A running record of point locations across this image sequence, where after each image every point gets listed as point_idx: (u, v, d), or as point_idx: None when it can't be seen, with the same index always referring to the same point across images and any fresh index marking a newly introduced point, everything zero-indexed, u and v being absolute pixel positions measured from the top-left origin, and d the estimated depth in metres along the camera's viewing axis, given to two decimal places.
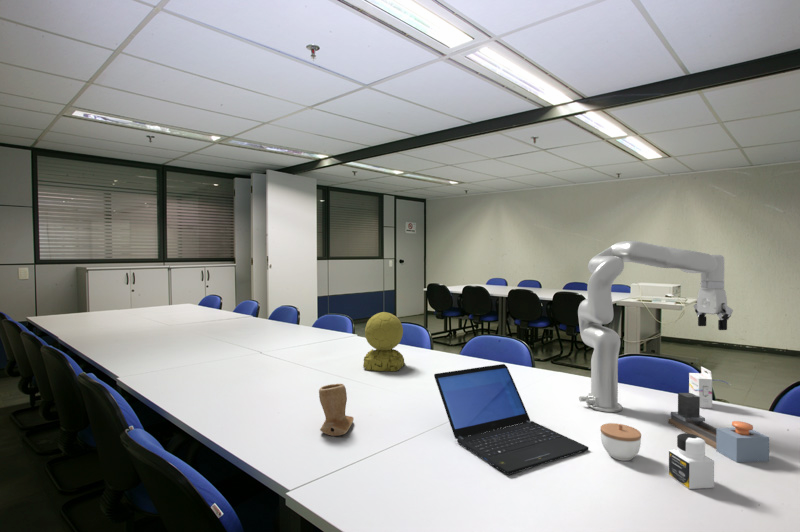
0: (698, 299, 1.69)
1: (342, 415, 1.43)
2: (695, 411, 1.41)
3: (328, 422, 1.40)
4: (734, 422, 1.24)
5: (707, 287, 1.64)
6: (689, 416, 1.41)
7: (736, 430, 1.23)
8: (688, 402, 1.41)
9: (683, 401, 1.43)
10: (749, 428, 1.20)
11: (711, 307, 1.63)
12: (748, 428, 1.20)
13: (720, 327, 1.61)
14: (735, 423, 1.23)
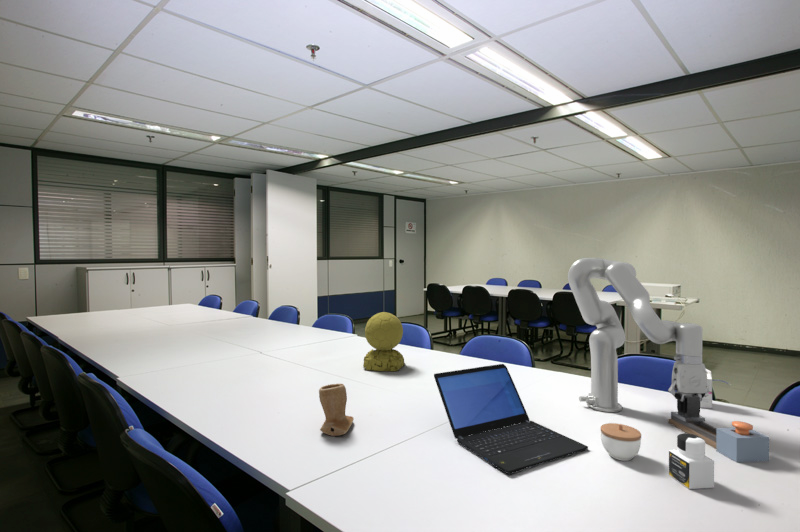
0: (683, 378, 1.41)
1: (342, 415, 1.43)
2: (695, 411, 1.41)
3: (328, 422, 1.40)
4: (734, 422, 1.24)
5: (700, 363, 1.40)
6: (689, 416, 1.41)
7: (736, 430, 1.23)
8: (688, 402, 1.41)
9: None
10: (749, 428, 1.20)
11: (702, 385, 1.41)
12: (748, 428, 1.20)
13: None
14: (735, 423, 1.23)
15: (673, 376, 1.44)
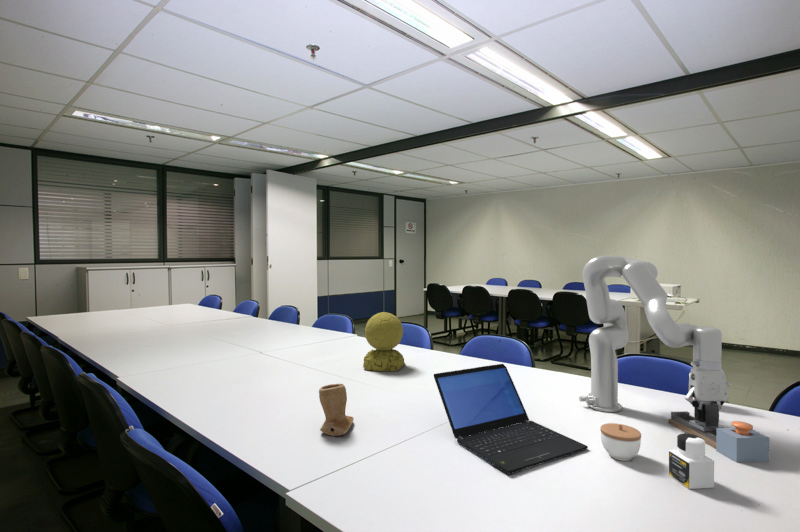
0: (702, 385, 1.33)
1: (342, 415, 1.43)
2: (714, 419, 1.34)
3: (328, 422, 1.40)
4: (734, 422, 1.24)
5: (720, 369, 1.32)
6: (707, 425, 1.33)
7: (736, 430, 1.23)
8: (706, 410, 1.33)
9: None
10: (749, 428, 1.20)
11: (721, 393, 1.33)
12: (748, 428, 1.20)
13: None
14: (735, 423, 1.23)
15: (690, 383, 1.36)
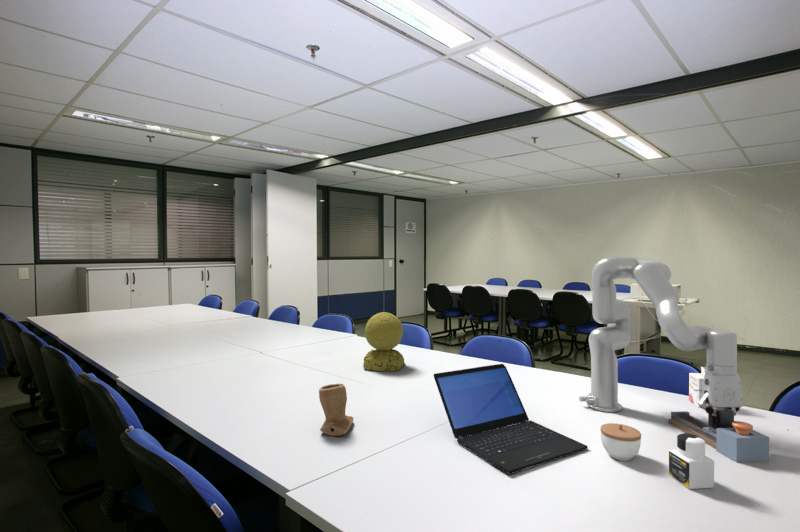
0: (716, 391, 1.27)
1: (342, 415, 1.43)
2: (729, 426, 1.28)
3: (328, 422, 1.40)
4: (734, 422, 1.24)
5: (735, 374, 1.26)
6: None
7: (736, 430, 1.23)
8: (721, 417, 1.28)
9: None
10: (749, 428, 1.20)
11: (736, 399, 1.27)
12: (748, 428, 1.20)
13: None
14: (735, 423, 1.23)
15: (704, 388, 1.30)
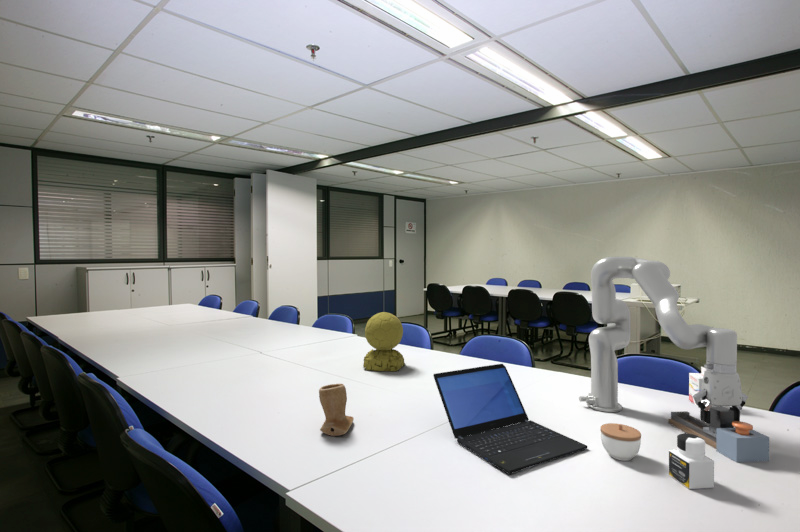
0: (716, 389, 1.27)
1: (342, 415, 1.43)
2: (729, 426, 1.28)
3: (328, 422, 1.40)
4: (734, 422, 1.24)
5: (734, 373, 1.27)
6: None
7: (736, 430, 1.23)
8: (721, 417, 1.28)
9: (716, 416, 1.29)
10: (749, 428, 1.20)
11: (736, 397, 1.28)
12: (748, 428, 1.20)
13: None
14: (735, 423, 1.23)
15: (703, 386, 1.31)
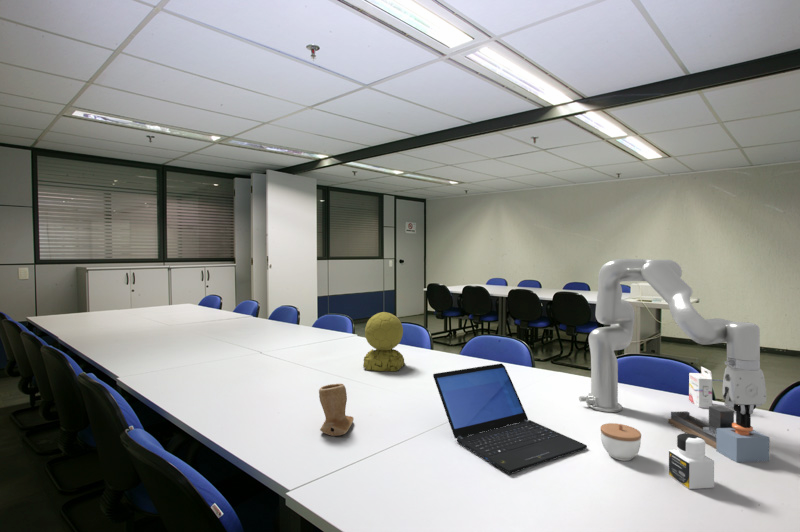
0: (738, 387, 1.19)
1: (342, 415, 1.43)
2: (729, 426, 1.28)
3: (328, 422, 1.40)
4: (734, 424, 1.24)
5: (758, 369, 1.19)
6: None
7: (736, 432, 1.23)
8: (721, 417, 1.28)
9: (716, 416, 1.29)
10: (749, 430, 1.20)
11: (760, 395, 1.20)
12: (748, 430, 1.20)
13: None
14: (735, 425, 1.23)
15: (724, 384, 1.23)
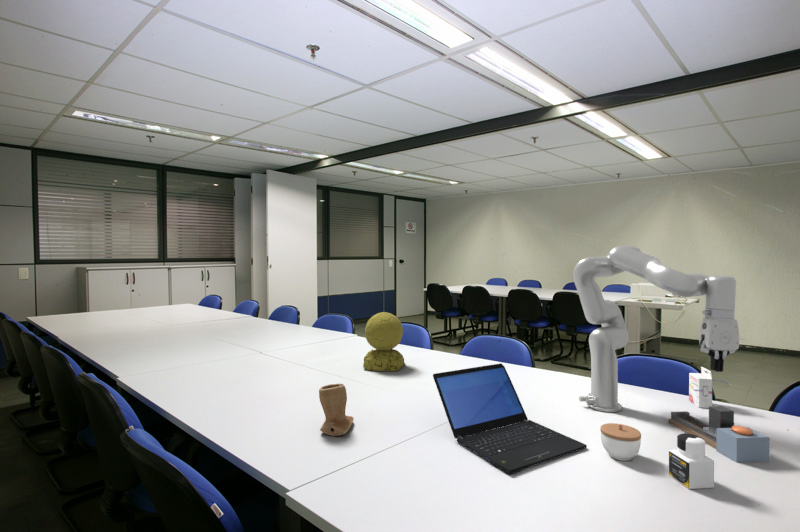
0: (713, 334, 1.30)
1: (342, 415, 1.43)
2: (729, 426, 1.28)
3: (328, 422, 1.40)
4: (734, 427, 1.24)
5: (732, 318, 1.29)
6: None
7: None
8: (721, 417, 1.28)
9: (716, 416, 1.29)
10: (749, 433, 1.20)
11: (733, 342, 1.30)
12: (748, 433, 1.20)
13: None
14: (735, 428, 1.23)
15: (701, 332, 1.33)
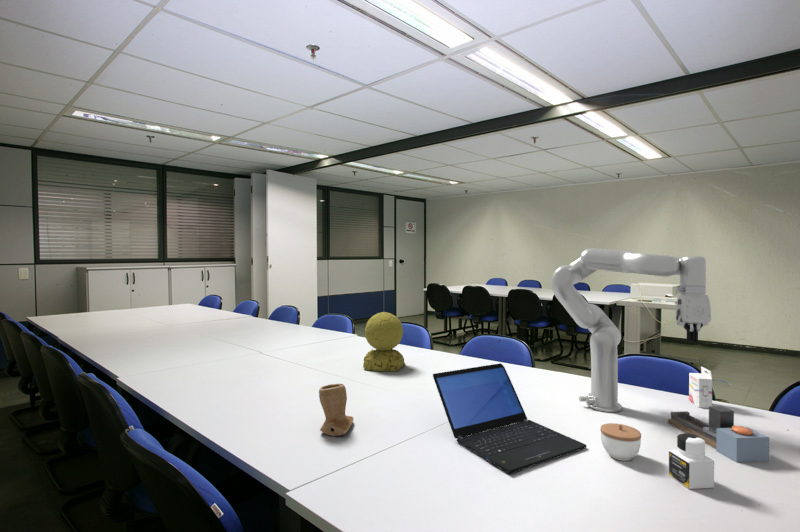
0: (687, 308, 1.44)
1: (342, 415, 1.43)
2: (729, 426, 1.28)
3: (328, 422, 1.40)
4: (734, 427, 1.24)
5: (704, 293, 1.43)
6: None
7: None
8: (721, 417, 1.28)
9: (716, 416, 1.29)
10: (749, 433, 1.20)
11: (705, 315, 1.44)
12: (748, 433, 1.20)
13: None
14: (735, 428, 1.23)
15: (677, 307, 1.47)
